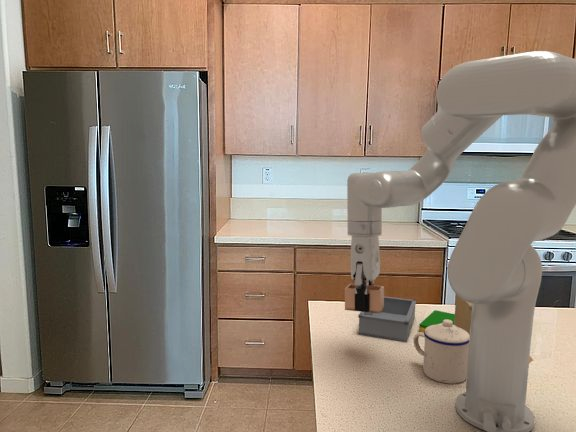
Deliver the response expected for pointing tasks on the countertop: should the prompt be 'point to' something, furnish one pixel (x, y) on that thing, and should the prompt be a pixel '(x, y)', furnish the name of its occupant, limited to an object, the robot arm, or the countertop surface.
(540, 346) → the countertop surface
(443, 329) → the teacup with lid
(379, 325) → the big crate
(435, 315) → the dish sponge
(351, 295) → the box
